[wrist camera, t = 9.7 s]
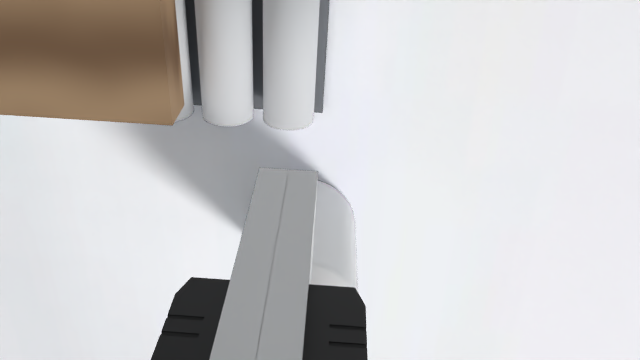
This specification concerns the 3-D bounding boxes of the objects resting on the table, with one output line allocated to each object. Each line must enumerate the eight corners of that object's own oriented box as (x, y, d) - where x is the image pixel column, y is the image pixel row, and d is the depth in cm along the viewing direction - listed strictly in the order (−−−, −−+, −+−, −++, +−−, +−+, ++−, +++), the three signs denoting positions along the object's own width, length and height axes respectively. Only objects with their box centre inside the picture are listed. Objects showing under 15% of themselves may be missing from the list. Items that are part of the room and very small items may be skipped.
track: (-177, -138, 27) (-315, -131, 21) (336, -105, 27) (334, -89, 22) (-91, 83, 34) (-179, 135, 28) (322, 110, 34) (319, 166, 28)
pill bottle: (340, 166, 36) (340, 281, 27) (366, 252, 40) (373, 378, 31) (232, 190, 37) (197, 307, 28) (267, 270, 41) (247, 396, 32)
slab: (-133, -91, 25) (-176, -84, 23) (168, -72, 25) (152, -63, 23) (-67, 88, 30) (-98, 108, 28) (184, 104, 30) (172, 125, 28)
